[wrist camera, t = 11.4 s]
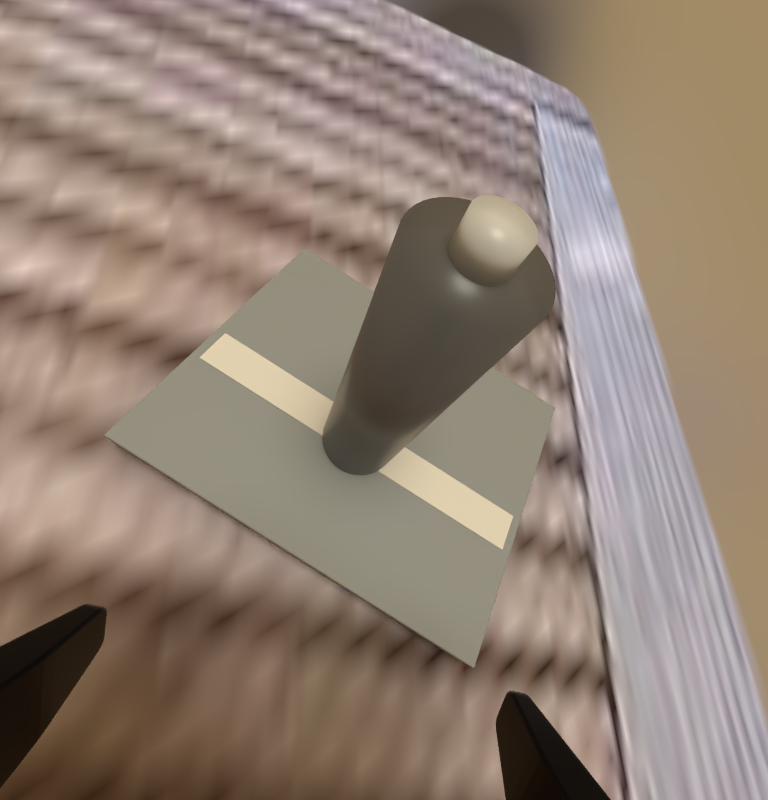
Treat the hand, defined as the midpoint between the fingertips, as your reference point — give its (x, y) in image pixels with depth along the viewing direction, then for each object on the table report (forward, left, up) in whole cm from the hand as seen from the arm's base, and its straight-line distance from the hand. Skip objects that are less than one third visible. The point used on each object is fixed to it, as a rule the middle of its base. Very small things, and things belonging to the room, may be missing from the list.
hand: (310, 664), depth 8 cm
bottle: (+9, +2, -9) cm, 12 cm away
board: (+10, +2, -10) cm, 14 cm away
